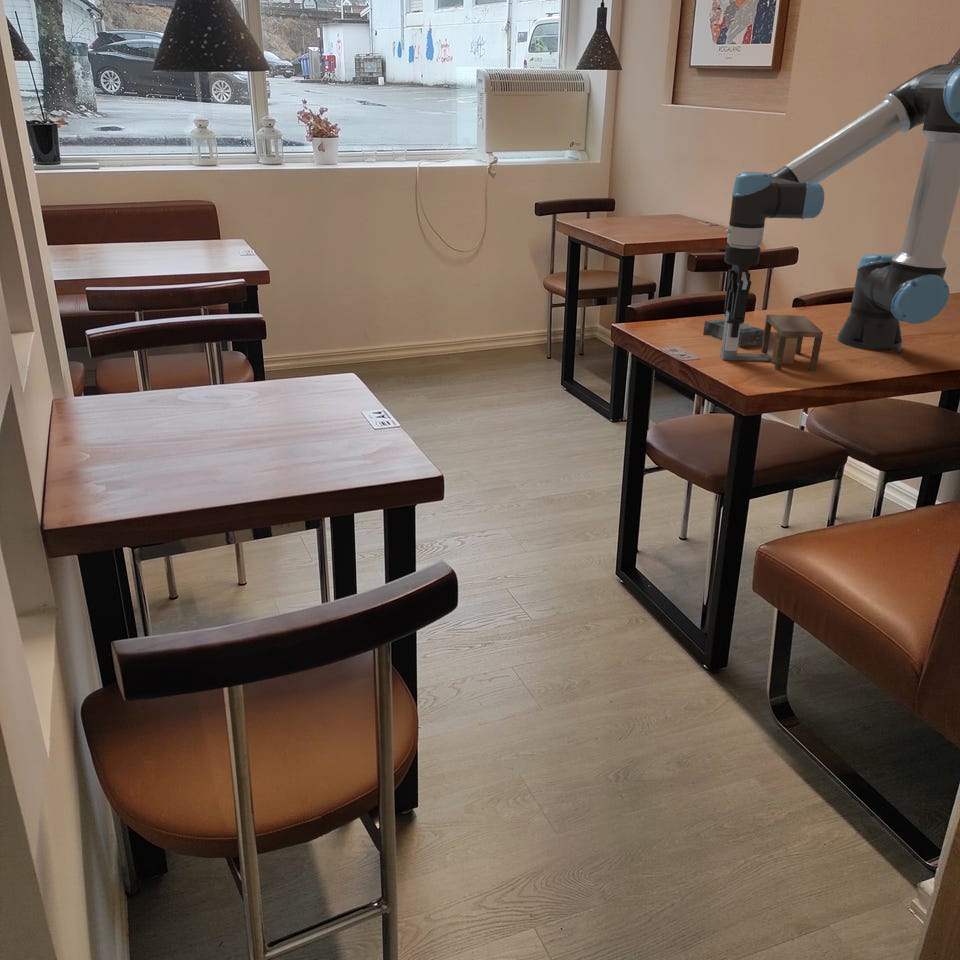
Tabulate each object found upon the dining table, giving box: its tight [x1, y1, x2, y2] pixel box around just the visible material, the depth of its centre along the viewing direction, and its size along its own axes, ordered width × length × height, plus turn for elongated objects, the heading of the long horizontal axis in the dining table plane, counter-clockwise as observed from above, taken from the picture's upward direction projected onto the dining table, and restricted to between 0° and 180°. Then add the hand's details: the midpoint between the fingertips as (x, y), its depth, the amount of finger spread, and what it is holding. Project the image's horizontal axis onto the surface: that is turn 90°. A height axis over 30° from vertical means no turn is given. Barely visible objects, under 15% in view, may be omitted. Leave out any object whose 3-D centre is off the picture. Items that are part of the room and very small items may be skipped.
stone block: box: [702, 318, 764, 348], centre depth 227 cm, size 9×14×5 cm, turn 24°
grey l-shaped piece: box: [720, 310, 798, 365], centre depth 208 cm, size 16×5×11 cm, turn 87°
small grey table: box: [760, 314, 824, 372], centre depth 209 cm, size 9×15×10 cm, turn 177°
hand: (729, 347), depth 210 cm, fingers closed on grey l-shaped piece, 3 cm apart
